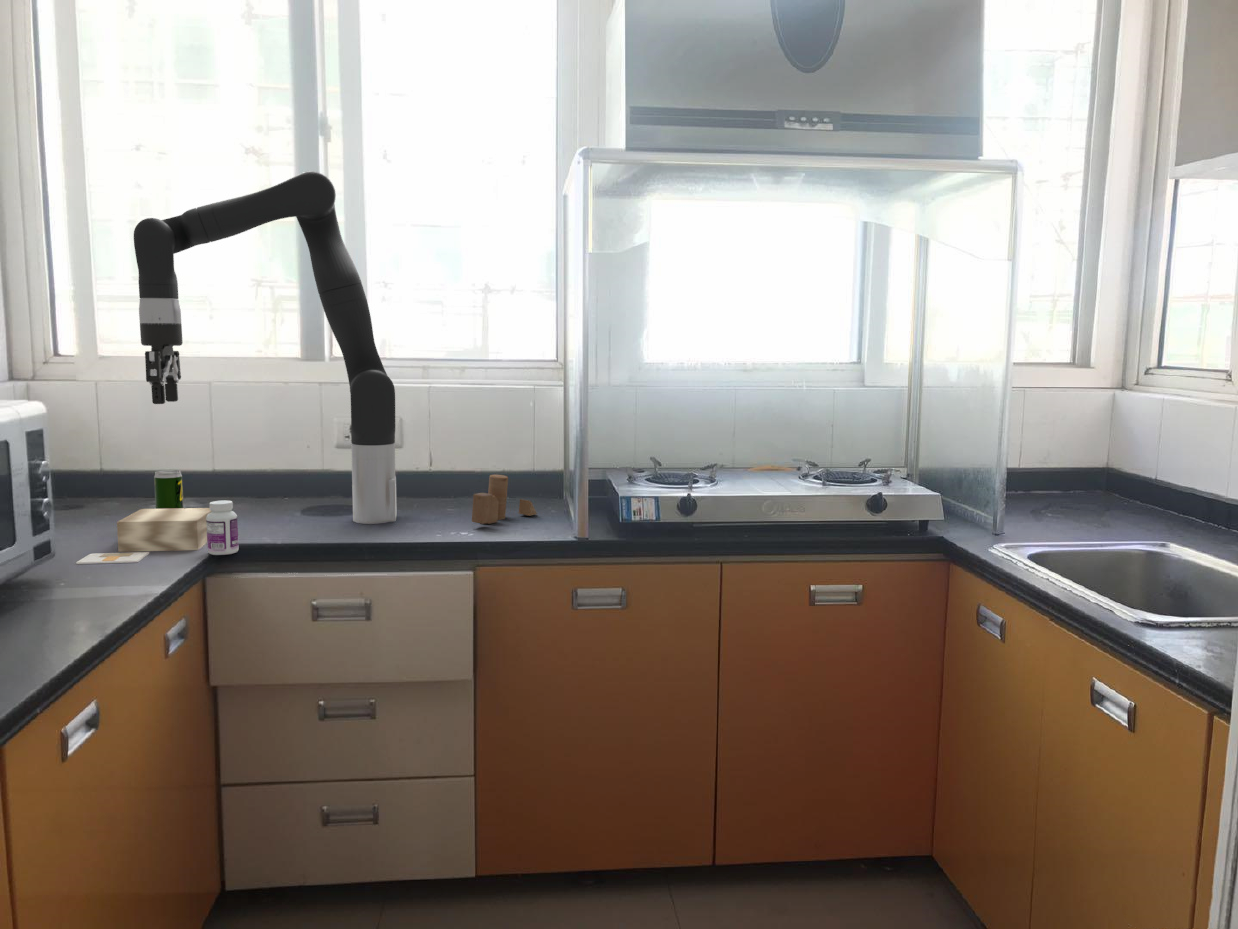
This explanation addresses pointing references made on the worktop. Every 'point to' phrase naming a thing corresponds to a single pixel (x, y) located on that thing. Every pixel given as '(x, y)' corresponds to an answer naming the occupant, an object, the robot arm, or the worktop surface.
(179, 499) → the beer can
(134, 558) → the card
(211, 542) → the pill bottle
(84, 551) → the worktop surface
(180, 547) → the birch block
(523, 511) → the wooden block set
